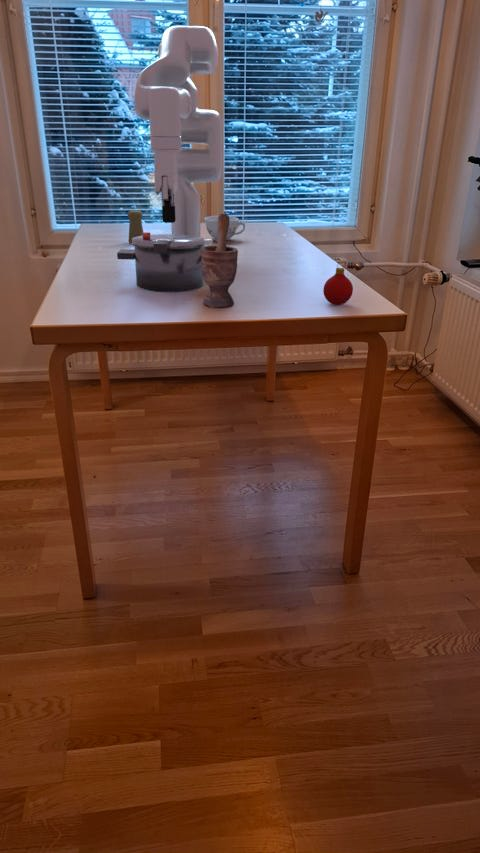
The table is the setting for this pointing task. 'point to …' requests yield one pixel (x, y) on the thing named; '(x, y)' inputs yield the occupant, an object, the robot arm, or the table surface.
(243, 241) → the table surface
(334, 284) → the christmas ornament
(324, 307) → the table surface
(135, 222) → the olive green tall piece
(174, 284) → the pot
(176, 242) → the lid
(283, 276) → the table surface
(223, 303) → the mortar and pestle
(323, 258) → the table surface
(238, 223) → the teacup
